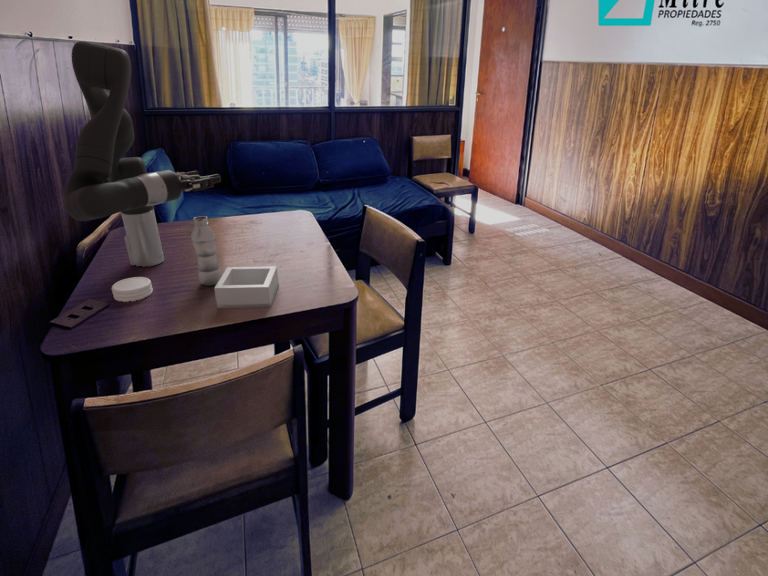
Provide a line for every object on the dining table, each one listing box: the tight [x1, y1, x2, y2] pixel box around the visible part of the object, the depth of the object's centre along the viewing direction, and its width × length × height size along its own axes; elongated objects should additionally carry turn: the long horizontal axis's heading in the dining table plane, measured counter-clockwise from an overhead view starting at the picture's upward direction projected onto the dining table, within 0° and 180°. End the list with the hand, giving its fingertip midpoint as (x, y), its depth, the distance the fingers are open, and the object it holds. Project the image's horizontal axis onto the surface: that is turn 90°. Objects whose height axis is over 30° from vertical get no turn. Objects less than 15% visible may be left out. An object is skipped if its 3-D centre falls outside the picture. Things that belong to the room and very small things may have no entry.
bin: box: [213, 265, 280, 309], centre depth 133 cm, size 14×14×6 cm
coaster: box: [111, 276, 153, 303], centre depth 135 cm, size 10×10×4 cm
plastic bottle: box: [190, 215, 223, 287], centre depth 138 cm, size 6×7×20 cm
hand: (208, 176), depth 130 cm, fingers open, 8 cm apart
